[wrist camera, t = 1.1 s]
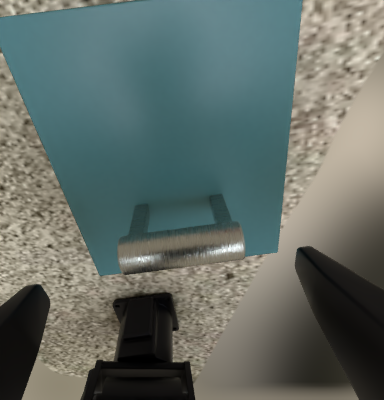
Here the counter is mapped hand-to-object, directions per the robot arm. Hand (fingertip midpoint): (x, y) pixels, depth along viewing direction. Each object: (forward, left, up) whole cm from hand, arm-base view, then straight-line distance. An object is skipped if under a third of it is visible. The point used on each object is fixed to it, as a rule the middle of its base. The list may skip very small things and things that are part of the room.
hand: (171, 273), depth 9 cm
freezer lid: (+2, 0, -6) cm, 6 cm away
